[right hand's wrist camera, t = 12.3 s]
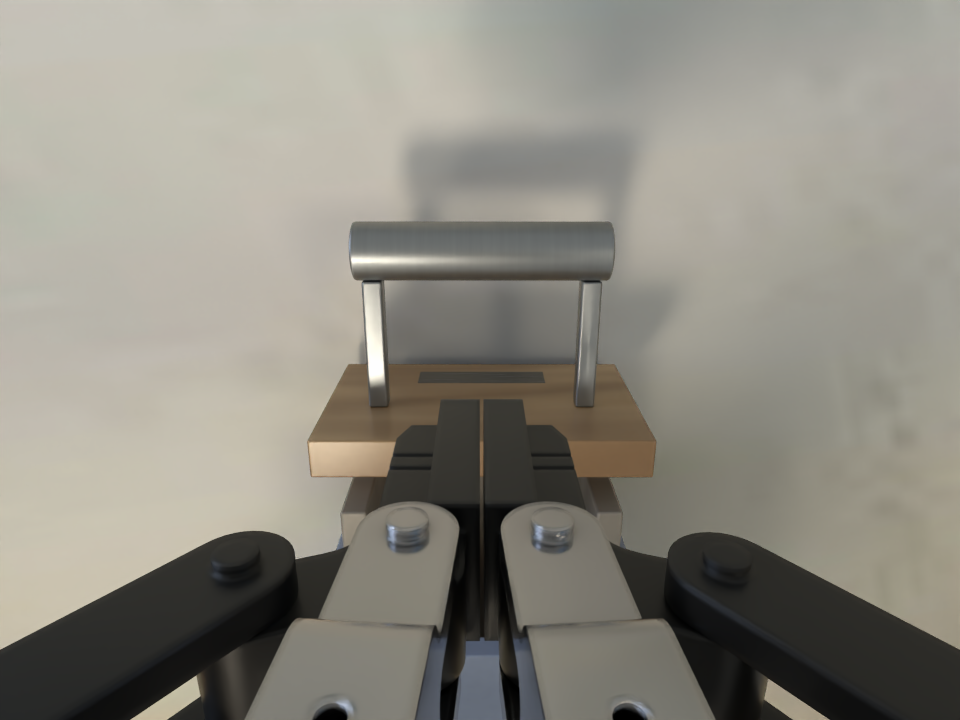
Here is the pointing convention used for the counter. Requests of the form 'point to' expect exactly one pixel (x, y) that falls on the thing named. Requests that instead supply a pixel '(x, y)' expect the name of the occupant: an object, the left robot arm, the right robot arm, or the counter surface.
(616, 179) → the counter surface
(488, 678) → the cabinet
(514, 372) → the drawer
